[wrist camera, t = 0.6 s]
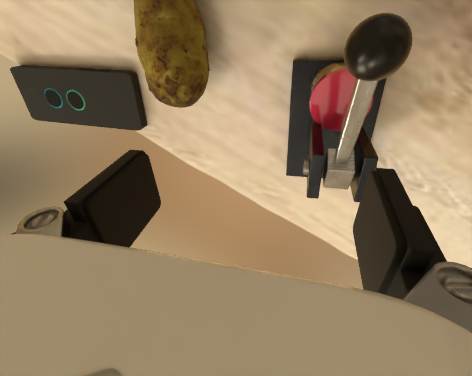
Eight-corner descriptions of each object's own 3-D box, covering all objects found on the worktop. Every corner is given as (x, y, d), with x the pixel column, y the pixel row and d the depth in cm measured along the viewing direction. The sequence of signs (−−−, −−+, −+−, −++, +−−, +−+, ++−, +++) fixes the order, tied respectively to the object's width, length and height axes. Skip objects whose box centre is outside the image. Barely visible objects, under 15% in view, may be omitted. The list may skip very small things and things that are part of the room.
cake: (312, 62, 28) (312, 71, 24) (369, 60, 27) (380, 69, 22) (307, 114, 31) (306, 130, 27) (357, 115, 30) (366, 131, 26)
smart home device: (6, 65, 37) (129, 72, 33) (17, 63, 38) (136, 69, 35) (32, 120, 42) (142, 132, 38) (41, 117, 43) (148, 128, 39)
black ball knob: (349, 3, 13) (352, 36, 12) (418, -2, 13) (430, 32, 11) (318, 163, 25) (317, 190, 24) (352, 165, 24) (354, 193, 23)
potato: (219, -27, 27) (191, -41, 20) (218, 97, 34) (197, 117, 28) (147, -30, 28) (99, -43, 22) (161, 90, 35) (128, 107, 29)
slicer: (293, 59, 29) (283, 86, 18) (388, 56, 27) (443, 84, 16) (286, 171, 38) (277, 236, 27) (359, 176, 35) (382, 249, 24)
